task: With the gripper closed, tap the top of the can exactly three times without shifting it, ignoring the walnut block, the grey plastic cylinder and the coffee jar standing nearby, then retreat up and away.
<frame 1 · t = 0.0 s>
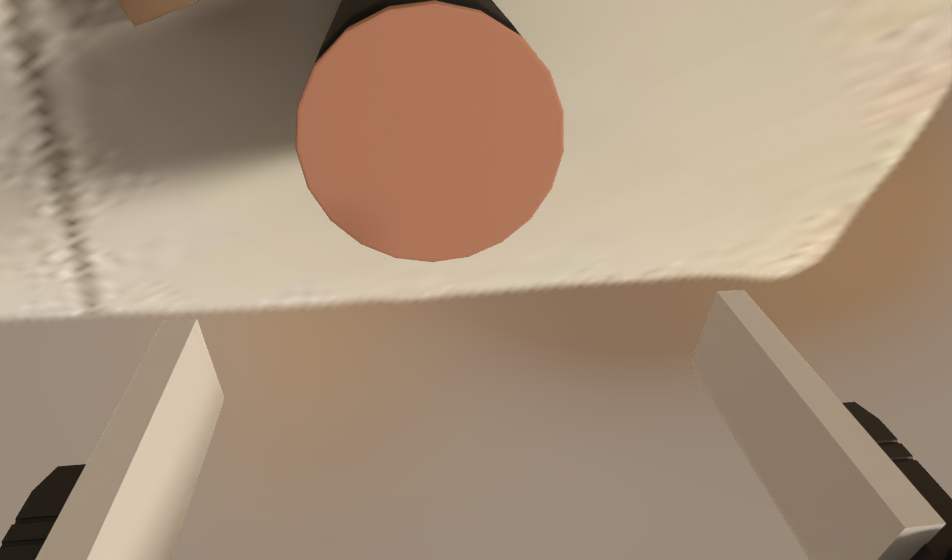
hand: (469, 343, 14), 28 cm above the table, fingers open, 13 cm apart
coffee jar: (418, 44, 36), on the table
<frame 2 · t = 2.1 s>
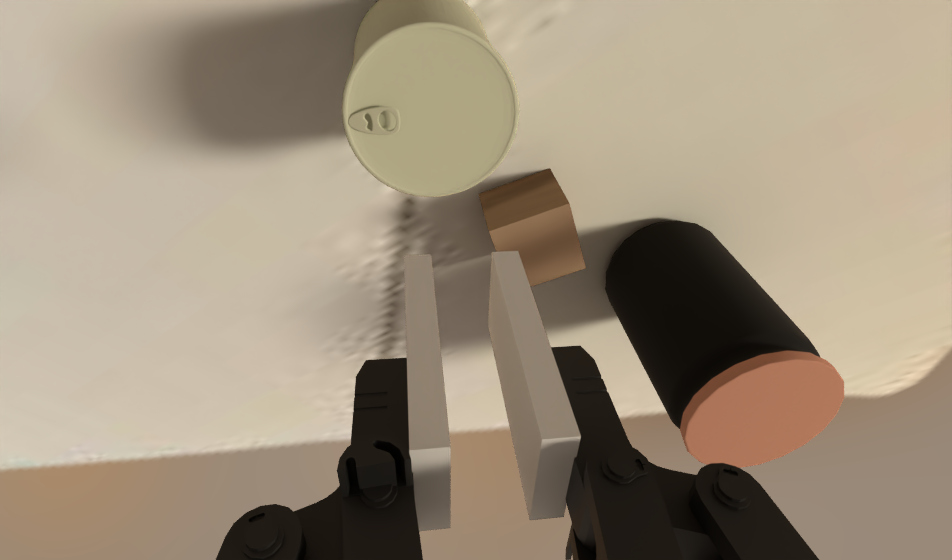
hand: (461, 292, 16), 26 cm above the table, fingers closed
can: (422, 60, 38), on the table
walnut block: (523, 211, 45), on the table
coffee jar: (656, 264, 50), on the table
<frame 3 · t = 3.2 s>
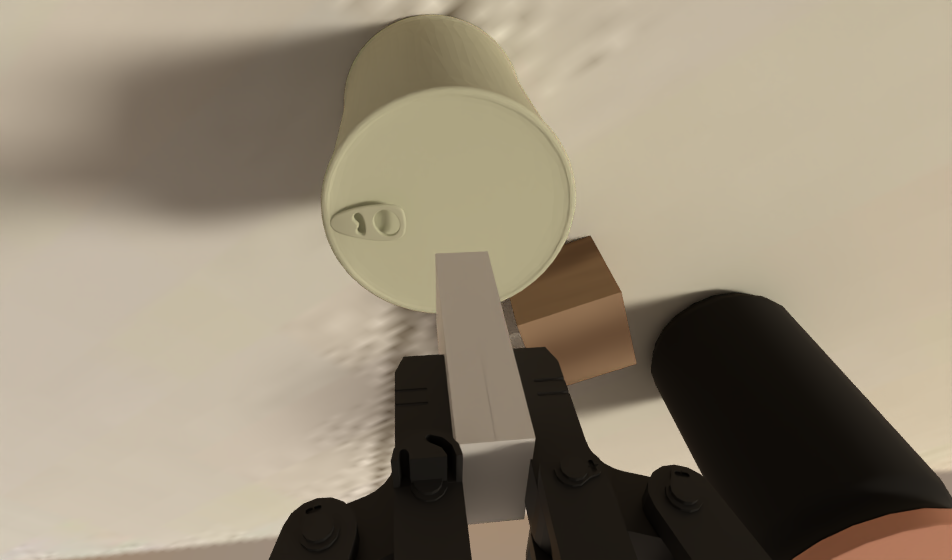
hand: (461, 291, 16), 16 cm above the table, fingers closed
can: (433, 108, 29), on the table
walnut block: (555, 285, 37), on the table
coffee jar: (712, 339, 42), on the table
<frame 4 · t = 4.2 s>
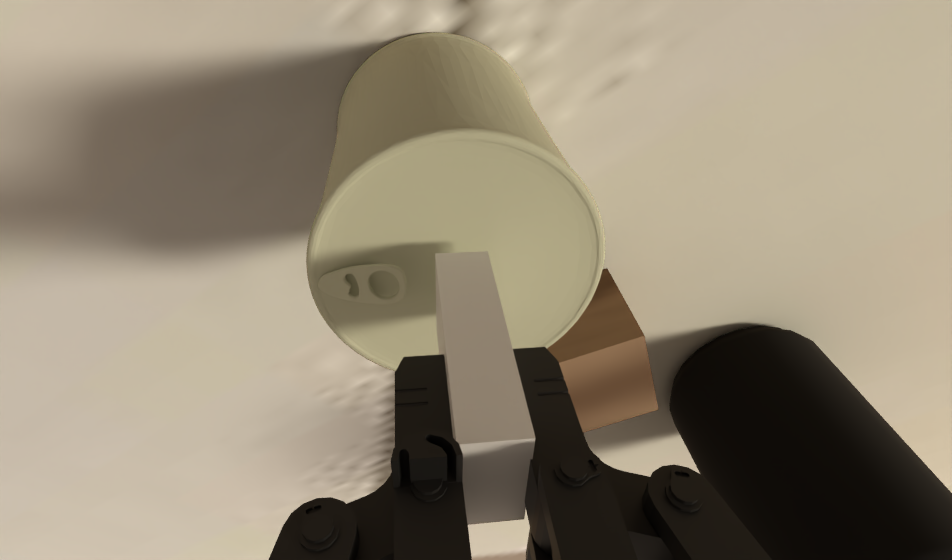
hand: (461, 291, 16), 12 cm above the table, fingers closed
can: (436, 134, 26), on the table, touching gripper
walnut block: (568, 320, 34), on the table
coffee jar: (734, 374, 39), on the table
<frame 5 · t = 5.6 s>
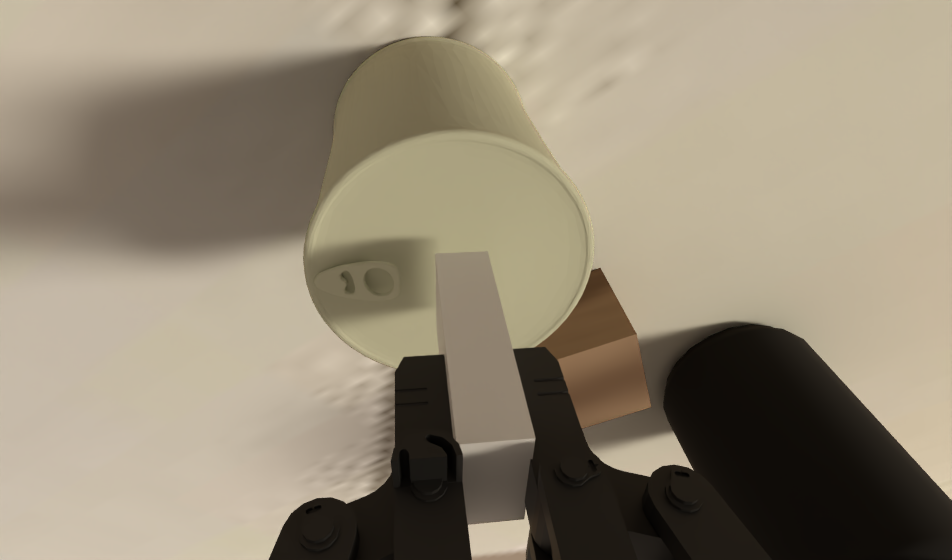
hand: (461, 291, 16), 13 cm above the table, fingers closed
can: (431, 136, 27), on the table
walnut block: (562, 319, 34), on the table
coffee jar: (727, 372, 40), on the table
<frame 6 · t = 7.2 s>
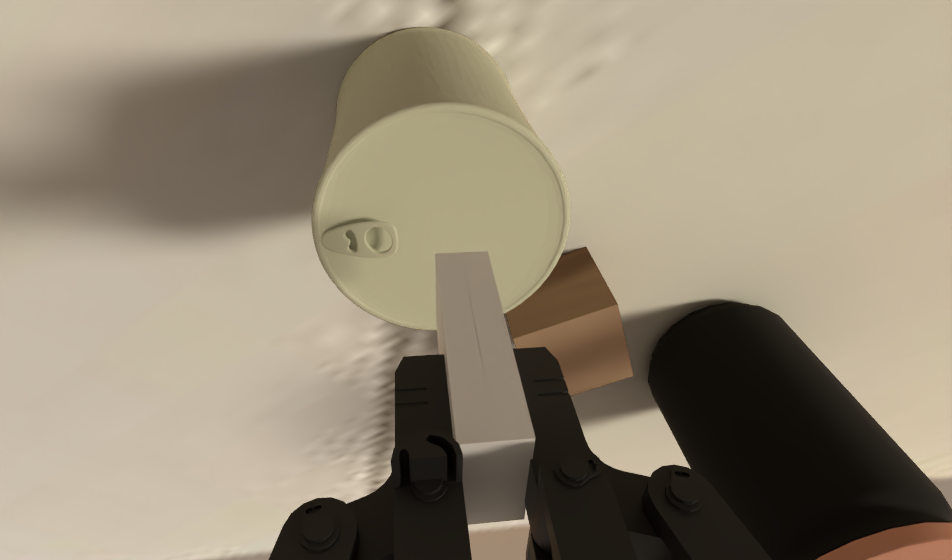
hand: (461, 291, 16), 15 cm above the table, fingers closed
can: (426, 120, 29), on the table
walnut block: (551, 296, 37), on the table
coffee jar: (709, 349, 42), on the table
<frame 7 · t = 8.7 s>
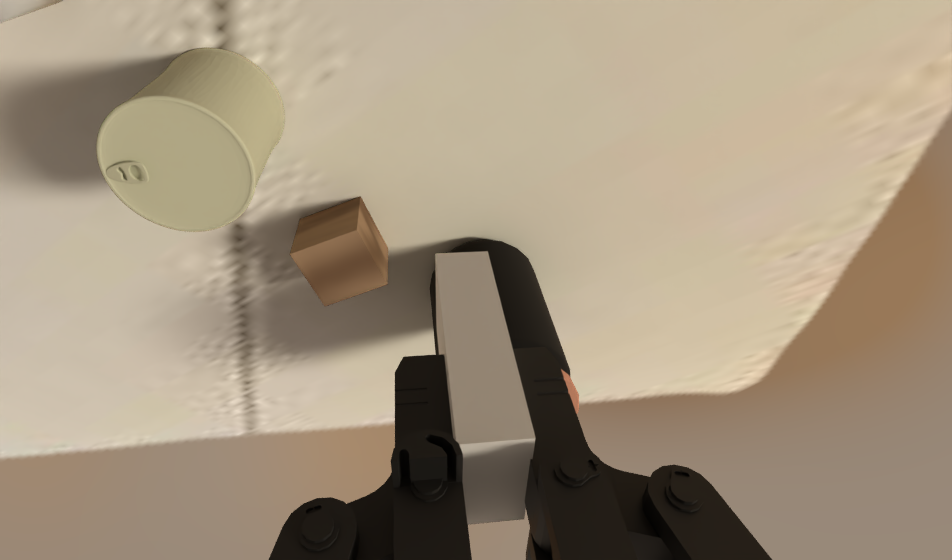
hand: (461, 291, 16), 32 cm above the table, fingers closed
can: (224, 108, 44), on the table
walnut block: (345, 233, 51), on the table
coffee jar: (481, 277, 56), on the table
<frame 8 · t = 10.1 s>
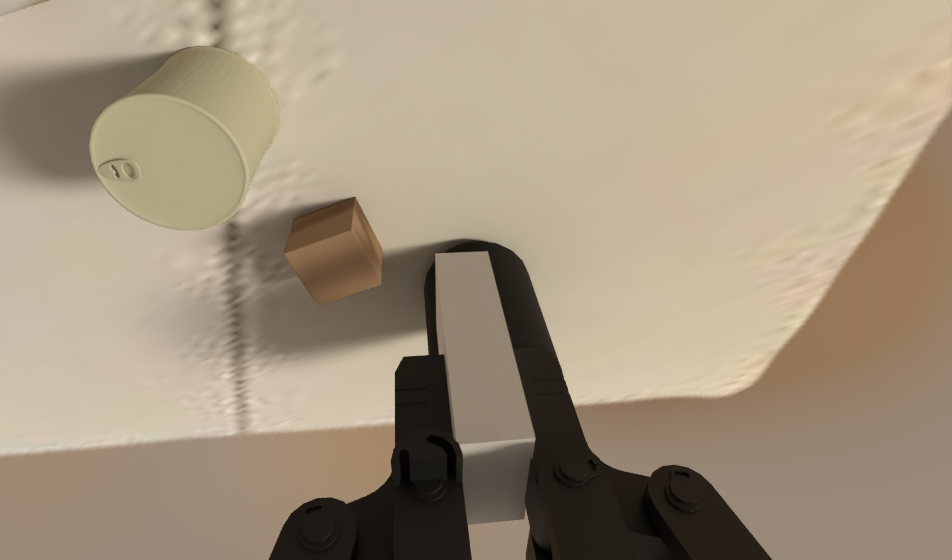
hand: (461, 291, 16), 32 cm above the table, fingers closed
can: (219, 106, 44), on the table
walnut block: (339, 233, 51), on the table
coffee jar: (475, 278, 56), on the table
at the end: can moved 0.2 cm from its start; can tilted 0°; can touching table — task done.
